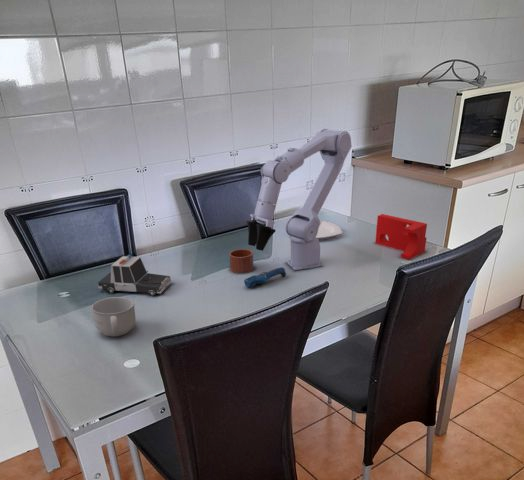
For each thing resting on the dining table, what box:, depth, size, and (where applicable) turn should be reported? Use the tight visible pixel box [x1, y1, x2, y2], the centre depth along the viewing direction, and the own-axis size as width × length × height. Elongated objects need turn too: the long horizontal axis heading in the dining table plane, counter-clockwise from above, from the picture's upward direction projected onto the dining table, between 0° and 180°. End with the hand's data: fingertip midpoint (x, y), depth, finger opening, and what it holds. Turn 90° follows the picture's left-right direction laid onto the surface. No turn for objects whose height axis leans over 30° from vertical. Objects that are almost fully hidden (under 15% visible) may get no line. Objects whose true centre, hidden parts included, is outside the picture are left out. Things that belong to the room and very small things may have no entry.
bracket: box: [374, 213, 428, 260], centre depth 176 cm, size 18×10×10 cm
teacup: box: [90, 296, 136, 337], centre depth 131 cm, size 14×11×8 cm
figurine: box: [243, 266, 287, 288], centre depth 157 cm, size 5×4×15 cm
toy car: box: [97, 254, 173, 297], centre depth 155 cm, size 10×21×10 cm, turn 78°
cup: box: [228, 248, 255, 274], centre depth 167 cm, size 8×8×6 cm
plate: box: [316, 220, 343, 241], centre depth 195 cm, size 19×19×2 cm
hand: (255, 247), depth 153 cm, fingers open, 7 cm apart
